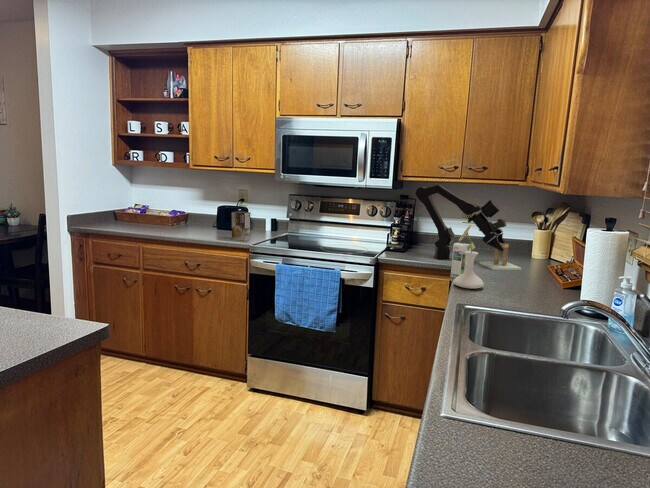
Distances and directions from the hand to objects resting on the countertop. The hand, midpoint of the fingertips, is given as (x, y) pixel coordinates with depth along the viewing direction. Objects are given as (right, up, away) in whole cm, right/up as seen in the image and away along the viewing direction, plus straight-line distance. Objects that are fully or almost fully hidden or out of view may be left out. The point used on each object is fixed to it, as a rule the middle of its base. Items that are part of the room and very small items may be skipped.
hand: (504, 249), depth 218 cm
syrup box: (-28, -12, -23) cm, 39 cm away
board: (-2, -8, +2) cm, 9 cm away
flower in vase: (-30, -15, -40) cm, 52 cm away
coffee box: (-134, +5, +48) cm, 143 cm away
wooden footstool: (-1, -7, +2) cm, 8 cm away
